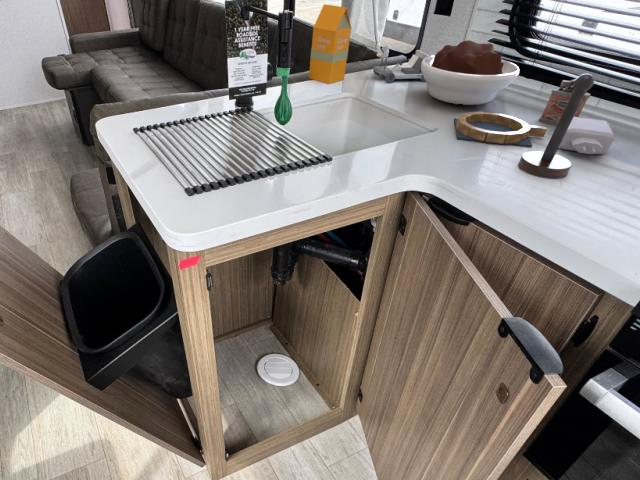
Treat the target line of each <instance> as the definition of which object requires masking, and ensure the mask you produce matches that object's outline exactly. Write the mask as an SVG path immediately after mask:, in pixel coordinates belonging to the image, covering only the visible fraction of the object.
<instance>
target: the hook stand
mask: <svg viewBox="0 0 640 480" xmlns="http://www.w3.org/2000/svg"><path fill="white" fill-rule="evenodd" d="M594 83H595V78H594V76H593V75H592V74H590V73H583V74H580V75H579V76H577V78H575V81H574V84H573V87H574V90H573V92H572V94H571V97H570V99H569V101H568V103H567V105H566V107H565V109H564V111H563V113H562V116H561V118H560V120H559V122H558V124H557V125H555V128H554V130H553V132H552V135H551V137H550V139H549V141H548V143H547V145H546V147H545V149H544V151H541V150H540V151H539V150H532V151H531V150H530V151H526V152H523V153H522V155H521V157H520V159H519V161H518V164H517V167H518V168H519V169H520V170H522V171H523V172H525V173H527V174H529V175H532V176H534V177H539V178H544V179H561V178H564V177H566V176H567V175H568V173H569V171H570V169H571V168H572V162H571V160H570V159H568V158H566V157H564V156H562V155H559V154H557V152H558V150H559V149H560V148H559V146H560V144H561V142H562V140H563V138H564V136H565V134H566V132H567V130H568V128H569V125H570V123H571V121H572V119H573V117H574V115H575V113H576V111H577V109H578V107H579V105H580V103H581V101H582V99H583V97H584V95H585V93H587V91H589V90H591V88H592V87H593V86H594Z"/></svg>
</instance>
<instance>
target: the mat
mask: <svg viewBox="0 0 640 480" xmlns="http://www.w3.org/2000/svg"><path fill="white" fill-rule="evenodd" d="M457 120H458V117H457V118H455V117H454V119H453V123H454V129H455V135H456V136H455V137H456V140H459V141H468V142H477V143H478V142H479V143H486V144H495V145H496V144H497V145H506V146H515V147H523V148H533V144H532V141H531V139H530V136H527V138H526V139H524V140H522V141H521V142H515V143H495V142H486V141H485V140H484V141H482V140H478V139H475V138H471V137H468V136H466V135H464V134H462V133H461V132H459V131H457V128H456V123H457ZM469 124H471V125H472V126H474V127H477V128H481V129H485V130H488V131H497V132H513V131H516V130H514V129H512V128H510V127H508V126H504V125H500V124H496V123H489V122H470V123H469Z"/></svg>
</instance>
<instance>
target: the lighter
mask: <svg viewBox="0 0 640 480" xmlns="http://www.w3.org/2000/svg"><path fill="white" fill-rule="evenodd" d="M575 80H576V78H575V79H571V80H566V79H562V80H561V83H560V85H559V88H557V87H555V88H552V89H551V92H550V93H551V94H550V96H549V97H548V101H547V103H546V105H545V107H544V109H543V111H542V114H541V115H540V117H539V119H538V122H540V123H545V124H550V125H553V126H554V125H555V126H557V124H558V122H559V120H560V118H561V116H562V113H563V111H564V109H565V107H566V105H567V103H568V101H569V99H570V97H571V94H572V92H573V90H574V87H573V84H574V81H575ZM590 96H591V93H589V92H586V93H585V95H584V97H583V99H582V101H581V103H580V105H579V107H578V109H577V111H576V113H575V115H574V117H580V115H581V112H582V111H583V109H584V107H585V105H586V103H587V101H588V99H590Z"/></svg>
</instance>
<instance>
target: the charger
mask: <svg viewBox="0 0 640 480" xmlns="http://www.w3.org/2000/svg"><path fill="white" fill-rule="evenodd" d="M615 138H616V137H615V134H614V132H613V130H612V128H611V126H610V124H609V122H608V121H606V120H602V119H594V118H587V117H580V116H579V117H573V119H572V121H571V123H570V125H569V128H568V130H567V132H566V134H565V136H564V138H563V140H562V142H561V144H560V146H559V148H558V149H560V150H565V151H570V152H578V153H579V154H586V155H605V154H606V153H607V152H608V150H610V149H609V148H610V147H611V145H612V144H613V142H614V140H615Z"/></svg>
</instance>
